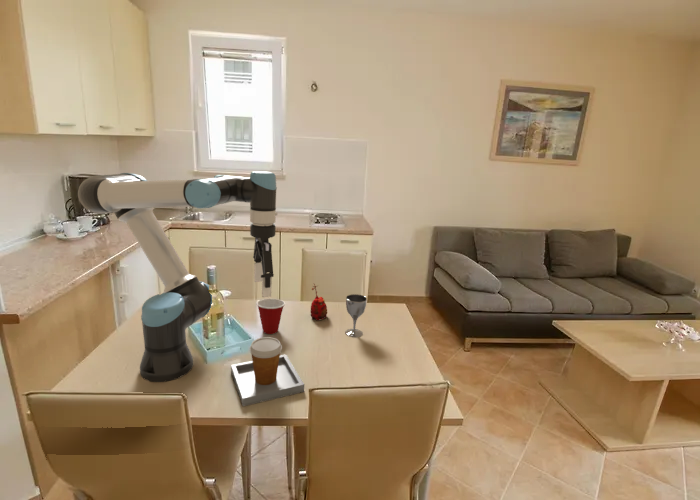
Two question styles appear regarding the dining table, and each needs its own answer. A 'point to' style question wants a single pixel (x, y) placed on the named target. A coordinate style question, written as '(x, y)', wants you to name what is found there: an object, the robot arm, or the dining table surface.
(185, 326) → the robot arm
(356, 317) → the wine glass
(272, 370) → the disposable coffee cup
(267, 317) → the plastic cup
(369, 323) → the dining table surface
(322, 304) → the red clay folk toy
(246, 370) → the tray
